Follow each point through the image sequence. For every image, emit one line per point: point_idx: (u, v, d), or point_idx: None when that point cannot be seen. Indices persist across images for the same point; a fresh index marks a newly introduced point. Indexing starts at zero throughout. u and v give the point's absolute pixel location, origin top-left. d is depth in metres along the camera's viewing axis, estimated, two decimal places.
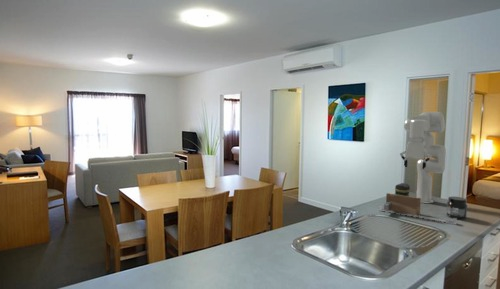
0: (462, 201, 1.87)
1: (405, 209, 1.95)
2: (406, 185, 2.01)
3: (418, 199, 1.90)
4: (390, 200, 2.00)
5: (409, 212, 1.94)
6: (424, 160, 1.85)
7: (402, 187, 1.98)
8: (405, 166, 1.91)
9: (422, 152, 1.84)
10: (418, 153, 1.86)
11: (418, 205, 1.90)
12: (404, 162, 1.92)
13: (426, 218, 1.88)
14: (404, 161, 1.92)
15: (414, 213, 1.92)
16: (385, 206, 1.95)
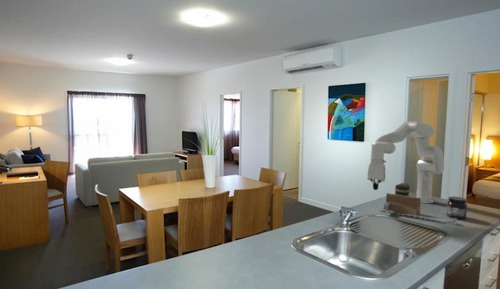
0: (462, 201, 1.87)
1: (405, 209, 1.95)
2: (406, 185, 2.01)
3: (418, 199, 1.90)
4: (390, 200, 2.00)
5: (409, 212, 1.94)
6: (377, 182, 1.97)
7: (402, 187, 1.98)
8: None
9: (382, 173, 1.94)
10: (378, 174, 1.95)
11: (418, 205, 1.90)
12: (373, 185, 1.99)
13: (426, 218, 1.88)
14: (373, 184, 1.99)
15: (414, 213, 1.92)
16: (385, 206, 1.95)
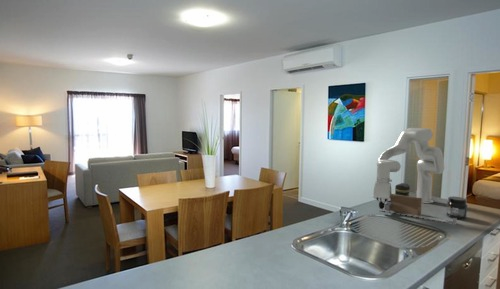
0: (462, 201, 1.87)
1: (406, 209, 1.95)
2: (406, 185, 2.01)
3: (419, 199, 1.90)
4: (391, 200, 2.00)
5: (410, 212, 1.94)
6: (383, 201, 1.95)
7: (402, 187, 1.98)
8: (380, 208, 1.97)
9: (388, 192, 1.93)
10: (384, 193, 1.94)
11: (419, 205, 1.90)
12: (379, 203, 1.98)
13: (426, 218, 1.88)
14: (379, 203, 1.98)
15: (415, 213, 1.92)
16: (386, 206, 1.95)
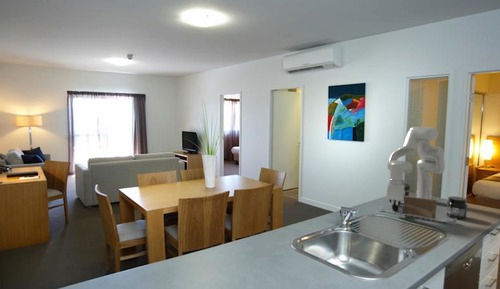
0: (462, 201, 1.87)
1: (420, 211, 1.90)
2: (406, 185, 2.01)
3: (434, 201, 1.85)
4: (404, 202, 1.95)
5: (424, 215, 1.89)
6: (397, 203, 1.91)
7: None
8: (393, 210, 1.92)
9: (401, 194, 1.88)
10: (398, 195, 1.89)
11: (434, 208, 1.85)
12: (392, 206, 1.93)
13: (426, 218, 1.88)
14: (392, 205, 1.93)
15: (429, 216, 1.87)
16: (399, 209, 1.90)
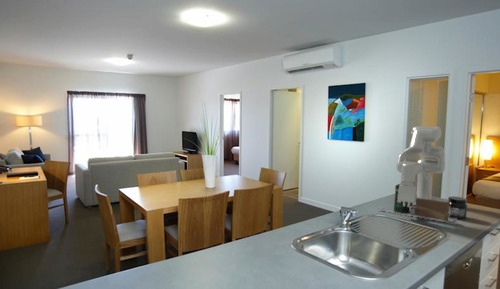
0: (462, 201, 1.87)
1: (432, 213, 1.86)
2: None
3: (447, 203, 1.81)
4: (416, 204, 1.91)
5: (436, 217, 1.85)
6: (408, 205, 1.87)
7: None
8: (404, 212, 1.88)
9: (413, 196, 1.84)
10: (409, 197, 1.85)
11: (447, 210, 1.81)
12: None
13: (426, 218, 1.88)
14: None
15: (442, 218, 1.83)
16: (411, 211, 1.86)
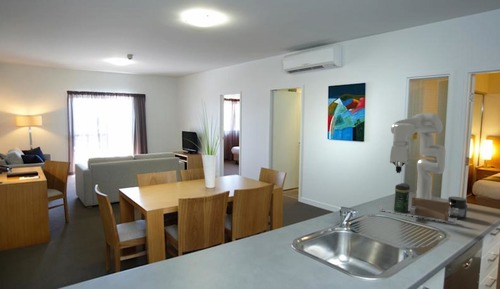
0: (462, 201, 1.87)
1: (432, 213, 1.86)
2: (406, 185, 2.01)
3: (447, 203, 1.81)
4: (416, 204, 1.91)
5: (437, 217, 1.85)
6: (400, 165, 1.91)
7: (402, 187, 1.98)
8: (397, 172, 1.93)
9: (405, 156, 1.88)
10: (401, 157, 1.89)
11: (447, 210, 1.81)
12: (396, 168, 1.93)
13: (426, 218, 1.88)
14: (396, 167, 1.93)
15: (442, 218, 1.83)
16: (411, 211, 1.86)
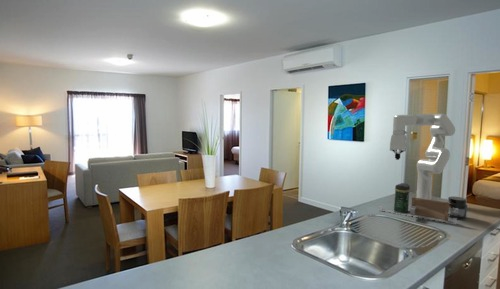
0: (462, 201, 1.87)
1: (432, 213, 1.86)
2: (406, 185, 2.01)
3: (447, 203, 1.81)
4: (416, 204, 1.91)
5: (437, 217, 1.85)
6: (399, 152, 2.10)
7: (402, 187, 1.98)
8: (396, 158, 2.12)
9: (404, 143, 2.07)
10: (400, 144, 2.09)
11: (447, 210, 1.81)
12: (395, 155, 2.13)
13: (426, 218, 1.88)
14: (395, 154, 2.12)
15: (442, 218, 1.83)
16: (411, 211, 1.86)
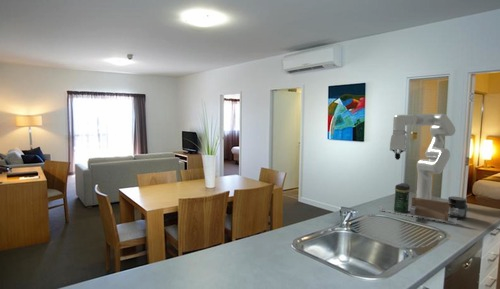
0: (462, 201, 1.87)
1: (432, 213, 1.86)
2: (406, 185, 2.01)
3: (447, 203, 1.81)
4: (416, 204, 1.91)
5: (437, 217, 1.85)
6: (399, 152, 2.10)
7: (402, 187, 1.98)
8: (396, 158, 2.12)
9: (404, 143, 2.07)
10: (400, 144, 2.09)
11: (447, 210, 1.81)
12: (395, 155, 2.13)
13: (426, 218, 1.88)
14: (395, 154, 2.13)
15: (442, 218, 1.83)
16: (411, 211, 1.86)
